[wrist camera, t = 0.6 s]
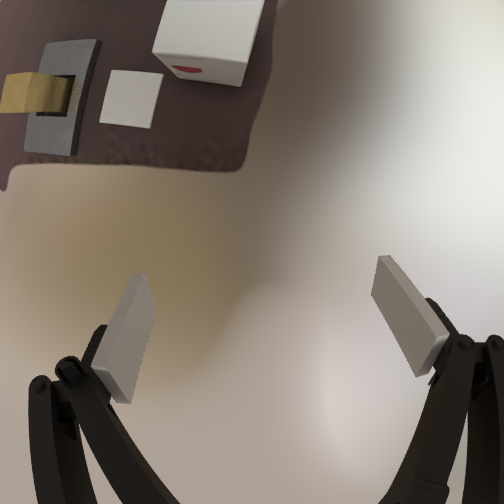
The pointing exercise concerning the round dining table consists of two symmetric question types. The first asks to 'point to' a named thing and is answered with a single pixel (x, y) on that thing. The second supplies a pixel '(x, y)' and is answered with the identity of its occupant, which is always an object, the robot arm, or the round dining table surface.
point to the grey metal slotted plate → (68, 128)
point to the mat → (131, 98)
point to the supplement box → (208, 38)
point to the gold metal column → (36, 93)
